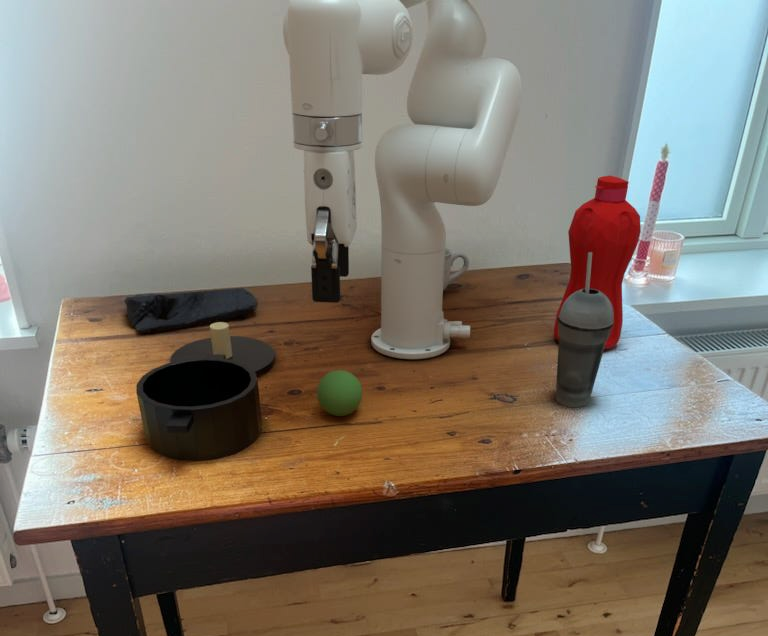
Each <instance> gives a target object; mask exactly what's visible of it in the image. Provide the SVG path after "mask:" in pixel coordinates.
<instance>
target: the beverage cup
mask: <svg viewBox="0 0 768 636" xmlns="http://www.w3.org/2000/svg"><path fill="white" fill-rule="evenodd" d="M591 263H592V253H591V252H589V253H588V261H587V273H586V285H585V289H581V290H578V291H576V292H575V293H573V294H572V295H570V296H569V297H568V298H567V299H566V301H565V302H564V304H563V305H562V308H561V311H560V314H559V316H558V319H557V320H558V334H559V341H558V348H557V349H558V351H557V363H556V365H557V366H556V381H555V390H556V391H555V392H556V396H555V400H556V402H558V403H559V404H560V405H562V406H565V407H569V408H582V407H585V406H587V405H588V404H589V401H590V398H591V395H592V393H593V391H594V386H595V382H596V380H597V379H596V378H597V375H598V372H599V369H600V365H601V362H602V357H603V354H604V350H605V349H604V347H605V344H606V340H608V337H609V335H610V332H611V328H612V327H613V325H614V320H613V317H614V311H613V307H612V304H611V302H610V300H609V299H608V297H607V296H606V295H605V294H603V293H602V292H601V291H598V290H596V289H591V288H589V287H590V275H591Z"/></svg>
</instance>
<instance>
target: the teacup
mask: <svg viewBox="0 0 768 636" xmlns="http://www.w3.org/2000/svg"><path fill="white" fill-rule="evenodd" d="M457 258H461V259H463V264H462V267H461V268H459V270H457V271H456V272H453V273H451V268H452V267H453V265H454V262H455V260H456V259H457ZM469 266H470V258H469V256H468V255H467V254H466V253H465V252H463V251H455V252H452V250H451V249H450V248H448V247H445V264H444V282H443V291H444V290H445V289H446V288H447V287H448V285H451V284H453V282H454V280H457V278H459V277H461V276H462V275H464V274H465V273H466V272H467V270H468V269H469Z"/></svg>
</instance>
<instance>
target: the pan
mask: <svg viewBox="0 0 768 636" xmlns="http://www.w3.org/2000/svg"><path fill="white" fill-rule="evenodd" d="M135 385H136V387H135V388H136V389H135V392H136V397H137V402H138V408H139V413H140V417H141V422H142V428H143V432H144V437H145V440H146V443H147V445H148V446H149V448H150V449H151V450H153V451H154V452H155V453H157V454H158V455H161V456H163V457H165V458H168V459H169V458H170V459H173V460H178V461H192V462H193V461H197V462H198V461H199V462H201V461H209V460H215V459H221V458H225V457H229V456H231V455H235V454H237V453H240V452H241V451H244V450H245V449H247V448H248V447H250V446H251V445H253V444H254V443H255V442H256V441H257V440H258V439H259V437H260V435H261V433H262V430H263V429H262V428H263V427H262V426H263V421H262V411H261V410H262V409H261V400H260V392H259V391H260V390H259V389H260V388H259V381H258V376H257V375H256V373H255V371H253V370H252V369H251V368H250V367H249V366H247V365H245V364H242V363H240V362H237V361H234V360H228V359H226V356H225V355H221V354H208V355H207V357H206V358H193V359H185V360H180V361H176V362H171V363H170V362H168V363H165V364H162V365H160V366H157V367H154V368H153V369H150V370H149V371H147V372H146V373H145V374H143V375H142V376H141V378H140V379H139V380H138V382H137V383H136V384H135Z"/></svg>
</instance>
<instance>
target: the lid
mask: <svg viewBox="0 0 768 636" xmlns="http://www.w3.org/2000/svg"><path fill="white" fill-rule="evenodd" d="M209 333H210V337H206V338H202V339H198V340H195V341H191V342H189V343H187V344H184V345H183V346H180V347H179V348H178V349H176V350H175V351H174V352H173V353H172V354H171V356H170V358H169V363H171V362H176V361H180V360H185V359H193V358H206V357H207V355H208V354H221V355H225V356H226V359H228V360H234V361H237V362H240V363H242V364H245V365H247V366H249V367H250V368H251V369H252V370H253V371H255V373H256V376H257V375H259V374H261V373H263V372H265V371H267V370H268V369H269V368H270V367H271V366H272V365H273V364H274V363H275V360H276V352H275V350H274V348H273V347H272V345H270V344H268V343H267V342H265V341H263V340H261V339H257V338H254V337H249V336H238V335H231V332H230V325H229V323H227V322H224V321H216V322H213V323H211V324H210V325H209Z"/></svg>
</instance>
